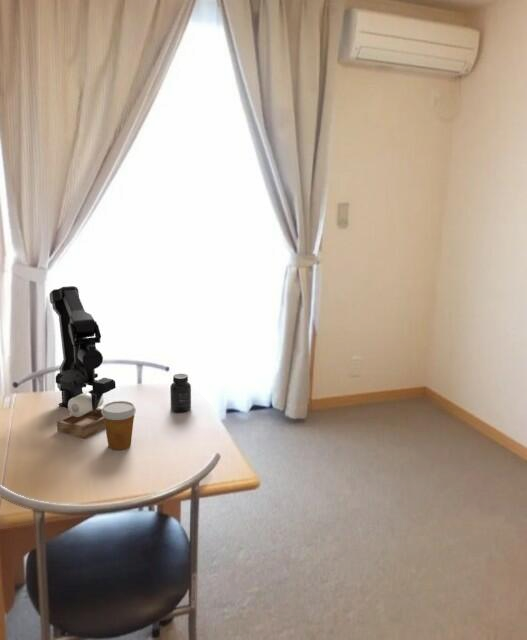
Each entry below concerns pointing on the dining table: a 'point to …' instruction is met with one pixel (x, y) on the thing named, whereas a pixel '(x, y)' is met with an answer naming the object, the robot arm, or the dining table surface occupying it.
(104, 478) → the dining table surface
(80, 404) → the paper roll
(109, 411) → the disposable coffee cup
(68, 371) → the robot arm
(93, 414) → the walnut cradle
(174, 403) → the supplement bottle
